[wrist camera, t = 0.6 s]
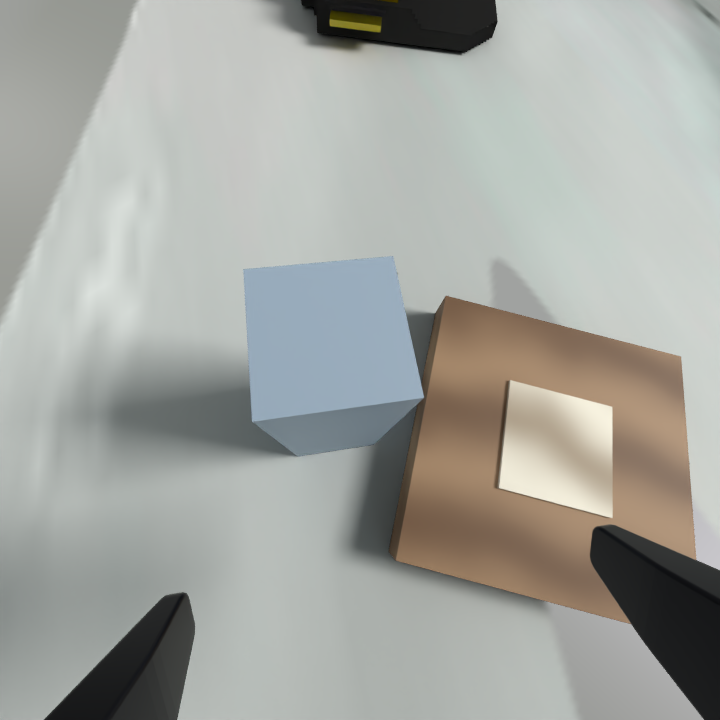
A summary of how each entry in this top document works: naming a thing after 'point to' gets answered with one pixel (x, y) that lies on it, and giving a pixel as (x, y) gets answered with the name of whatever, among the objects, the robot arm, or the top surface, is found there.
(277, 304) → the column block
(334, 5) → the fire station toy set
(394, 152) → the top surface
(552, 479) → the base board
